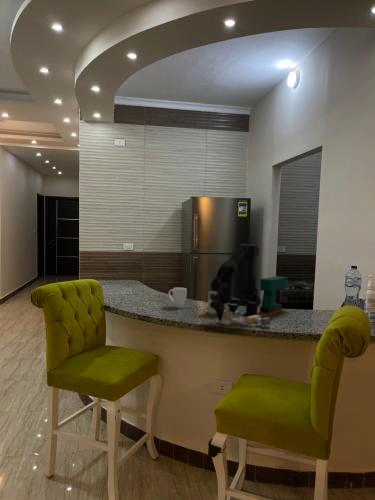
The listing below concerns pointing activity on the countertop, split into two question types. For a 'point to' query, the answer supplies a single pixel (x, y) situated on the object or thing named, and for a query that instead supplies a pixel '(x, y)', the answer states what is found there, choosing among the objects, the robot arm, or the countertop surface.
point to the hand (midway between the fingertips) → (225, 319)
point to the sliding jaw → (257, 319)
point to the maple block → (226, 317)
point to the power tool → (271, 294)
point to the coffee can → (210, 309)
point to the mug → (178, 296)
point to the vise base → (243, 320)
